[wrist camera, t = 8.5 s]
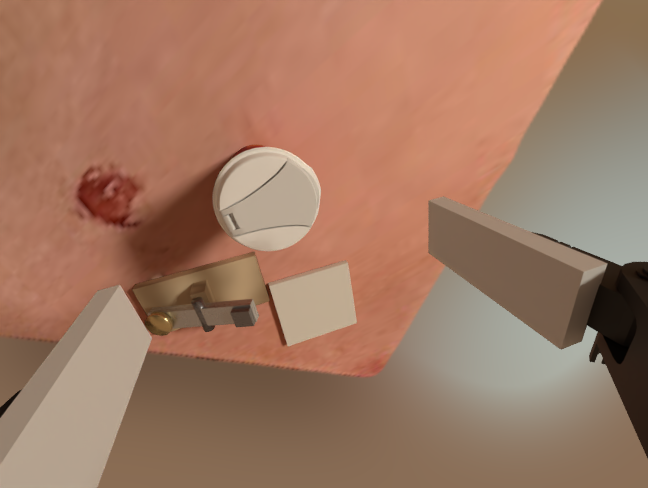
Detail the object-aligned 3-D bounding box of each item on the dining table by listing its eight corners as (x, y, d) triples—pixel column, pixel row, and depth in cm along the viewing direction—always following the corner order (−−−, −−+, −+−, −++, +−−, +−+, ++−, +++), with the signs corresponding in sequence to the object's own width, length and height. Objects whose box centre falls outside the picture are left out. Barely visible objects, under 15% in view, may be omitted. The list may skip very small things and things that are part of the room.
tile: (286, 342, 43) (287, 346, 43) (268, 283, 38) (269, 286, 38) (355, 319, 45) (356, 322, 44) (345, 260, 40) (347, 262, 39)
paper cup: (239, 213, 33) (241, 273, 21) (207, 148, 30) (188, 174, 18) (301, 189, 34) (338, 233, 22) (277, 123, 31) (306, 131, 18)
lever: (163, 328, 34) (153, 340, 33) (148, 301, 32) (137, 313, 31) (261, 320, 33) (256, 332, 31) (251, 292, 31) (245, 303, 29)
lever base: (160, 328, 37) (153, 350, 33) (135, 284, 33) (124, 303, 30) (268, 296, 39) (271, 313, 36) (254, 251, 36) (256, 265, 33)
